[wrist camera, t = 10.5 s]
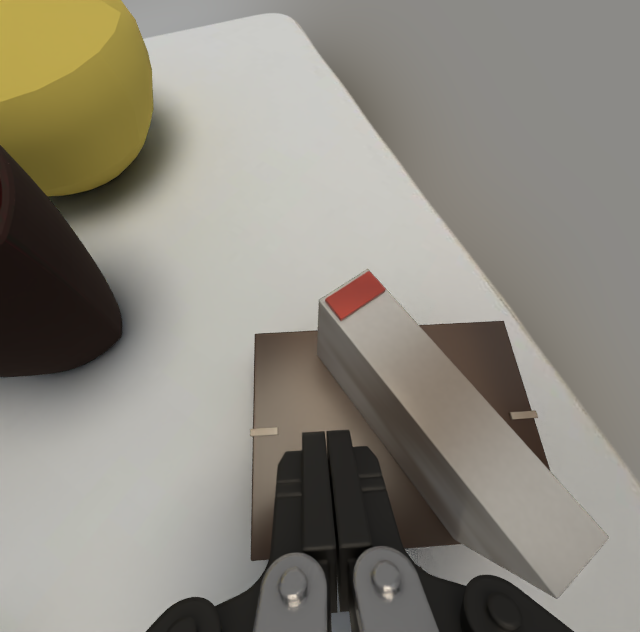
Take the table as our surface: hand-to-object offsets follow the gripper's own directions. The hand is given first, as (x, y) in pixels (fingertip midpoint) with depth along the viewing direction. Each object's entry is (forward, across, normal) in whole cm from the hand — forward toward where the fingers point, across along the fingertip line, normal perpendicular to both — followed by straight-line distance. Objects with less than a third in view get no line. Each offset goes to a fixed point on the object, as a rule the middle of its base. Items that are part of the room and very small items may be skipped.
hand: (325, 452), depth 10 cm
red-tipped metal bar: (+6, -4, +4) cm, 8 cm away
